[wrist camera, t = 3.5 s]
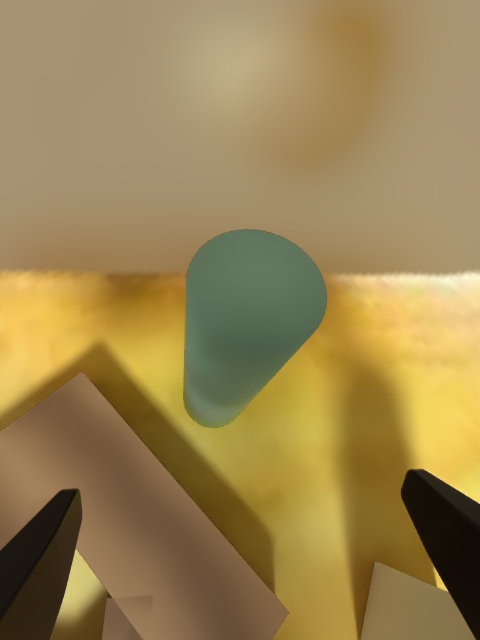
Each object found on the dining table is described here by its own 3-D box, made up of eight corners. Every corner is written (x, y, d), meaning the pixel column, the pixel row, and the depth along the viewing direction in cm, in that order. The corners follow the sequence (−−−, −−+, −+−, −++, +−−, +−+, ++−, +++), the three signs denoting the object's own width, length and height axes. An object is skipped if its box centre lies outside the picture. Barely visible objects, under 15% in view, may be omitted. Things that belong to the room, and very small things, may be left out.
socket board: (-35, 1054, 11) (-92, 1205, 8) (-233, 633, 14) (-313, 663, 12) (275, 595, 17) (288, 612, 15) (92, 382, 21) (81, 371, 18)
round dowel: (212, 441, 20) (263, 384, 8) (170, 395, 21) (154, 277, 9) (255, 397, 22) (352, 292, 9) (214, 356, 23) (254, 209, 10)
